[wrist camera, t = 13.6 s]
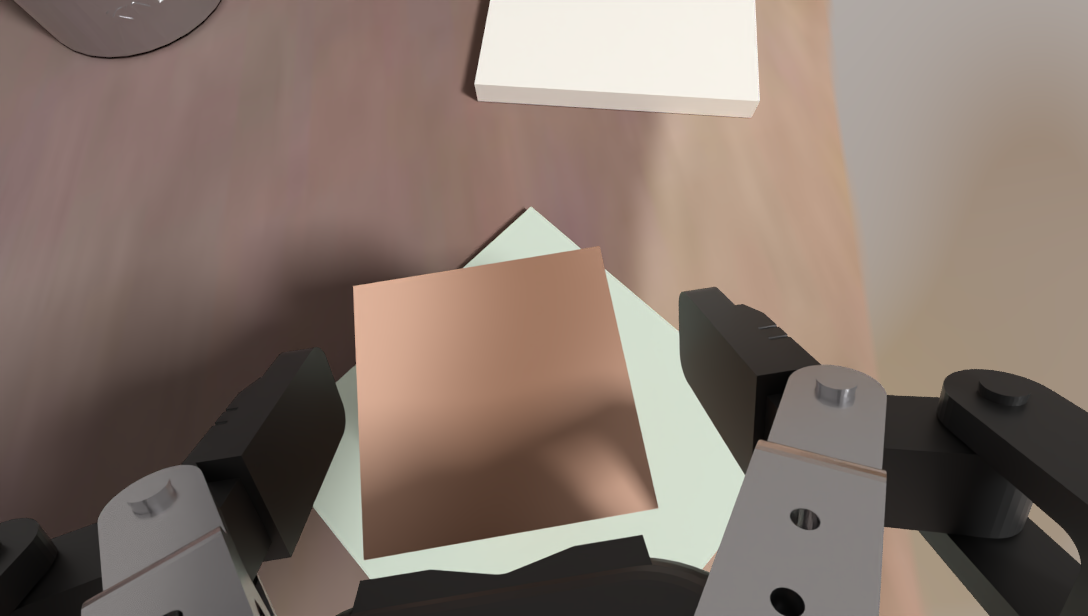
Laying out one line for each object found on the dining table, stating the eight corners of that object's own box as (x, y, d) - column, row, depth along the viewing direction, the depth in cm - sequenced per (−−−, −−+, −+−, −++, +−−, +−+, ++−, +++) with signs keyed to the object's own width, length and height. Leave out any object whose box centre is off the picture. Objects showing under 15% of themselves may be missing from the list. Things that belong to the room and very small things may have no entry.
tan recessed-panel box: (476, 521, 16) (364, 560, 7) (462, 394, 18) (353, 286, 9) (603, 498, 17) (658, 508, 7) (579, 373, 18) (599, 245, 9)
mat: (271, 447, 18) (264, 446, 18) (531, 211, 21) (531, 206, 20) (532, 775, 15) (532, 782, 14) (800, 440, 17) (805, 439, 17)
